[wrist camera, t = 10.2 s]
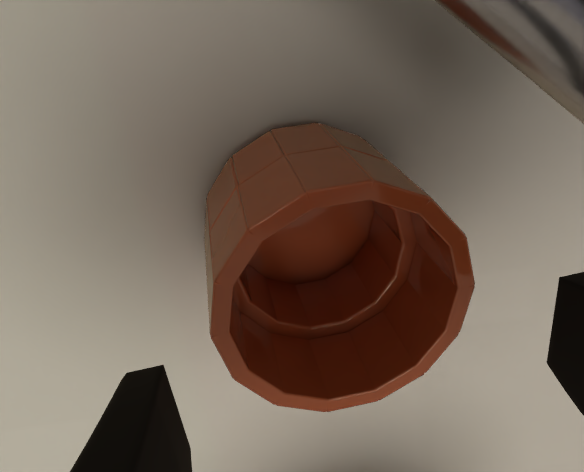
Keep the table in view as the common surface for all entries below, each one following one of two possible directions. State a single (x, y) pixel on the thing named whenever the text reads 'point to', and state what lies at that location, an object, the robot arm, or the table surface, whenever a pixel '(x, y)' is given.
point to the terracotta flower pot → (329, 270)
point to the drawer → (534, 41)
